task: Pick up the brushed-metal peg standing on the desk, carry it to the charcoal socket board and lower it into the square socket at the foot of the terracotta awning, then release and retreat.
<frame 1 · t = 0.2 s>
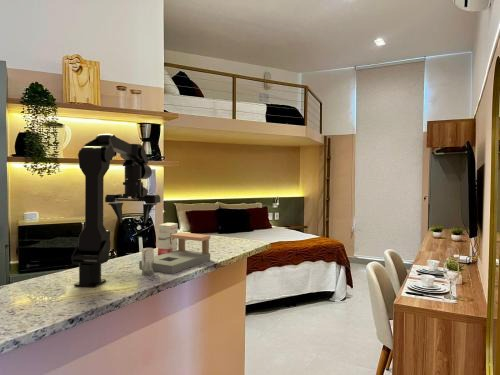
hand: (132, 222, 134), 14 cm above the countertop, fingers open, 9 cm apart
socket board: (176, 263, 133), on the countertop
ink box: (167, 253, 151), on the countertop
peg: (147, 273, 119), on the countertop
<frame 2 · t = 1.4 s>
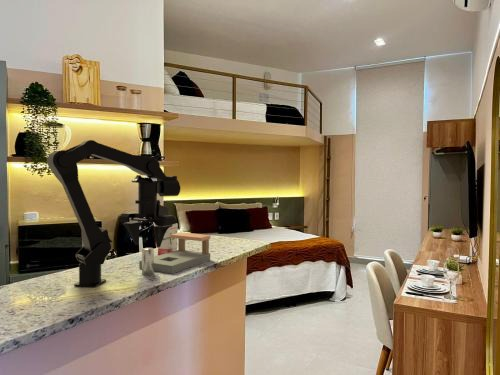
hand: (147, 245, 119), 9 cm above the countertop, fingers open, 9 cm apart
nothing on the countertop moved.
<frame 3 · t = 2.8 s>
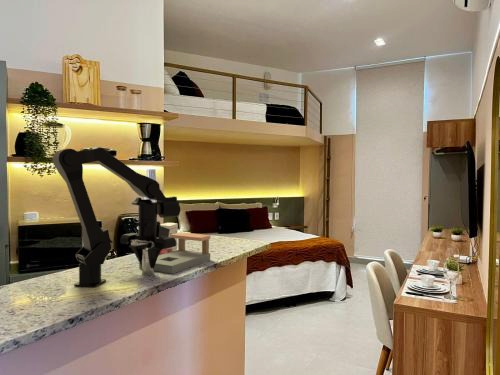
hand: (147, 267, 119), 2 cm above the countertop, fingers closed on peg, 4 cm apart
peg: (147, 273, 119), on the countertop, touching gripper
everything else where it was.
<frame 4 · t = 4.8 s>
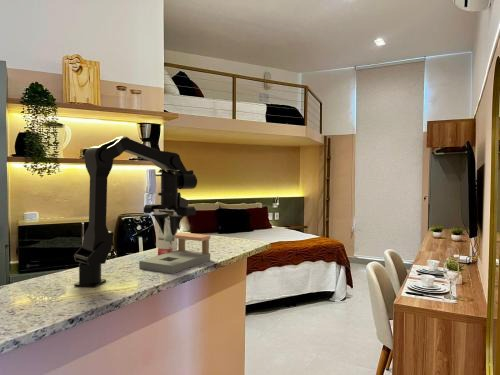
hand: (169, 234, 129), 11 cm above the countertop, fingers closed on peg, 4 cm apart
peg: (169, 240, 129), point 9 cm above the countertop, touching gripper
everything else where it was.
when the fingers open (3 cm above the countertop, at t = 6.8 s): peg drops 1 cm, resting in socket board.
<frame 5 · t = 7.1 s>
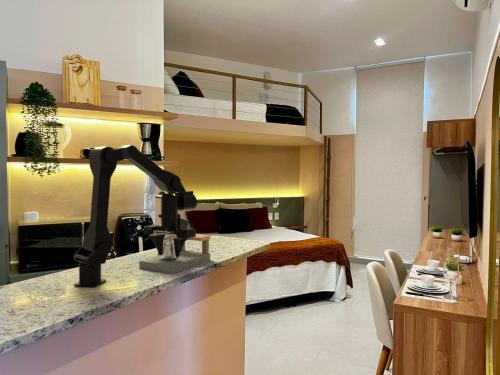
hand: (169, 256, 129), 3 cm above the countertop, fingers open, 7 cm apart
peg: (169, 266, 129), resting in socket board
everything else where it was.
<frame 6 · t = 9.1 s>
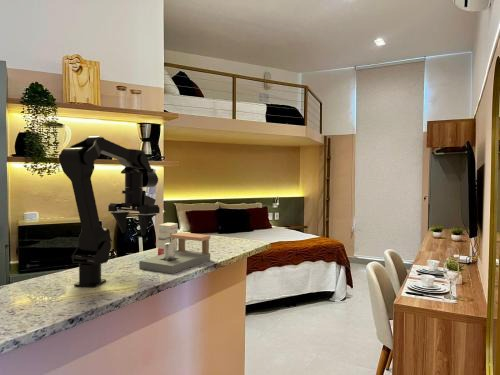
hand: (133, 233, 126), 12 cm above the countertop, fingers open, 9 cm apart
nothing on the countertop moved.
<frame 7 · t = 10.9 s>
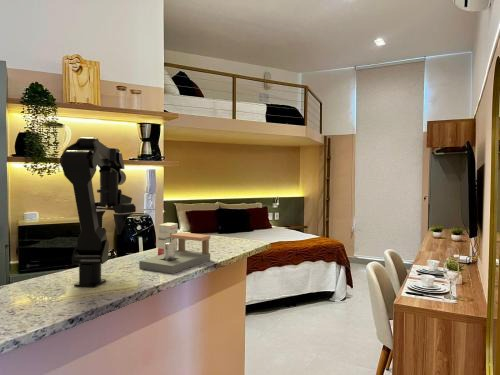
hand: (109, 233, 125), 12 cm above the countertop, fingers open, 9 cm apart
nothing on the countertop moved.
at the end: peg 0.1 cm from the target spot on the socket board, point 0.0 cm above the socket board's base; peg tilted 0°; the gripper is holding nothing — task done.
